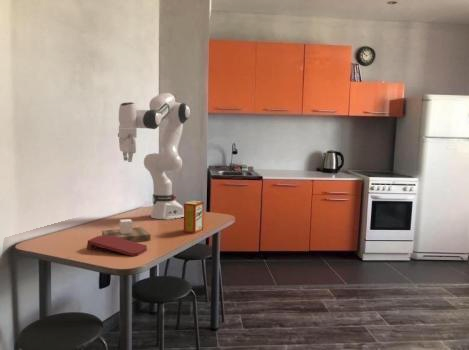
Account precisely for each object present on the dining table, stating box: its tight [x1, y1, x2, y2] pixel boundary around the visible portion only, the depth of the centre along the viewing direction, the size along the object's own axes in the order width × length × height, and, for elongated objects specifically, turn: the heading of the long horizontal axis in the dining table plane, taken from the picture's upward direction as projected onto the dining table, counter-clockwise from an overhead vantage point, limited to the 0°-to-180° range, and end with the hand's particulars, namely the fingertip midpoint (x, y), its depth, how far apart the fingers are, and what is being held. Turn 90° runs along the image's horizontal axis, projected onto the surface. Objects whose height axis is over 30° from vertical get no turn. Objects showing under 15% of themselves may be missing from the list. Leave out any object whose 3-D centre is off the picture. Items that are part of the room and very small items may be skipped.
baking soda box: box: [183, 200, 204, 235], centre depth 218 cm, size 10×6×16 cm
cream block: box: [119, 218, 133, 234], centre depth 200 cm, size 5×5×6 cm
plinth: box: [101, 226, 152, 243], centre depth 201 cm, size 20×16×3 cm
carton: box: [86, 234, 148, 257], centre depth 181 cm, size 12×5×25 cm
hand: (127, 161), depth 210 cm, fingers open, 8 cm apart
